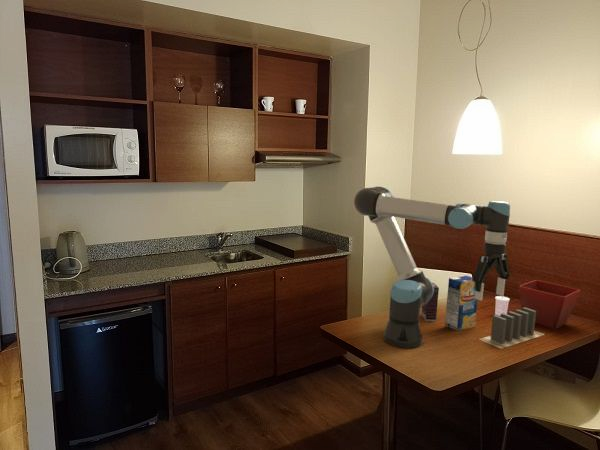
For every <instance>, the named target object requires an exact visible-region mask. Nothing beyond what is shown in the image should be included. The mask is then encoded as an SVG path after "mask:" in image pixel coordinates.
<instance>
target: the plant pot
mask: <svg viewBox="0 0 600 450" xmlns="http://www.w3.org/2000/svg"><path fill="white" fill-rule="evenodd" d="M580 293H581V290H580V289H578V288H574V287H570V286H565V285H562V284H556V283H553V282H548V281H545V280H539V279H535V280H532V281H529V282H527V283H523V284H521V285H519V299H520V301H519V302H520V306H521V311H522V310H523V308H524V307H525V308H528V309H532V310H535V311H536V318H535V324H537V325H540V326H544V327H547V328H550V329H554V330H557V329H558V328H561V327H563V326H565V324H566V323H567V322H568V319H569V318H570V316H571V314H572V313H573V310H574V308H575V307H576V303H577V300H578V298H579V297H580V296H579V295H580Z"/></svg>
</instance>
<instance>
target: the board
mask: <svg viewBox="0 0 600 450" xmlns="http://www.w3.org/2000/svg"><path fill="white" fill-rule="evenodd" d="M542 336H545V333H543V332H539V331H536V330H534V334H532V335H531V334H528V333H527V336H526V337H523V336H520V338H519V339H515V338H512V341H510V342H509V341H507V340H505V341H504V344H500V343H498V342H496V341H493V340H491V335H488V336H485V337H482V338H481V337H480V338H478V340H479V341H482V342H485V343H486V344H489V345H491V346H494V347H496V348H498V349H499V350H501V349H505V348H508V347H511V346H514V345H516V344H520V343H523V342H527V341H529V340H533V339H535V338H539V337H542Z"/></svg>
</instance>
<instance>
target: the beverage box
mask: <svg viewBox="0 0 600 450" xmlns="http://www.w3.org/2000/svg"><path fill="white" fill-rule="evenodd" d="M472 279H473V277H472V276H468V275H463V276H455V277H449V278H448V284H447V295H446V296H447V298H446V308H445V310H446V311H445V318H444V328H451V329H453V330H455V331H461V330H467V329H471V328H474V327H476V320H477V310H478V309H477V308H478V301H479V300H478V299H475V291H476V290H475V288H476V282H474V281H472Z"/></svg>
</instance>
